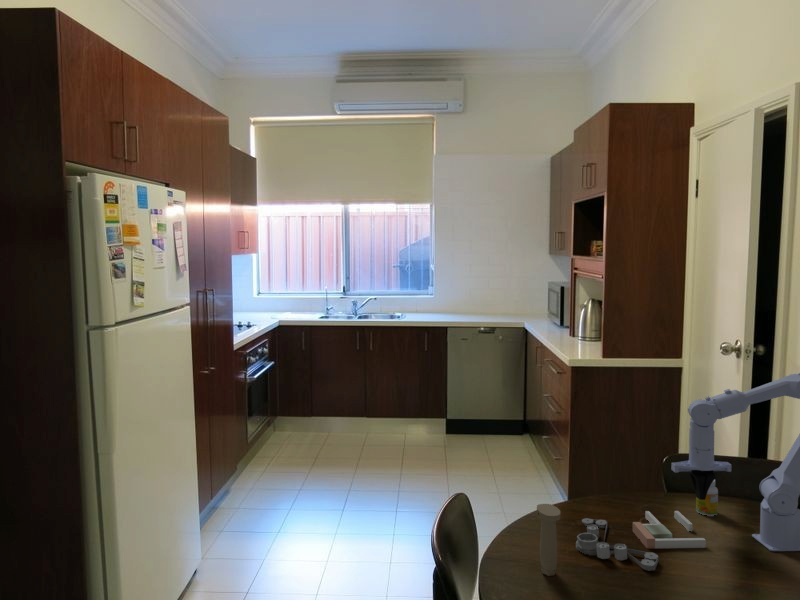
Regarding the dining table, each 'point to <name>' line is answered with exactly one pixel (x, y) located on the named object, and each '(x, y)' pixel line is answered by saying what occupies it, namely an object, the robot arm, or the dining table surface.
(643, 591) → the dining table surface
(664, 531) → the block
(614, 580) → the dining table surface
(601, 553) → the pulley system
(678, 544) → the channel
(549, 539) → the handle
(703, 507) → the supplement bottle
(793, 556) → the dining table surface
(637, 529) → the block
